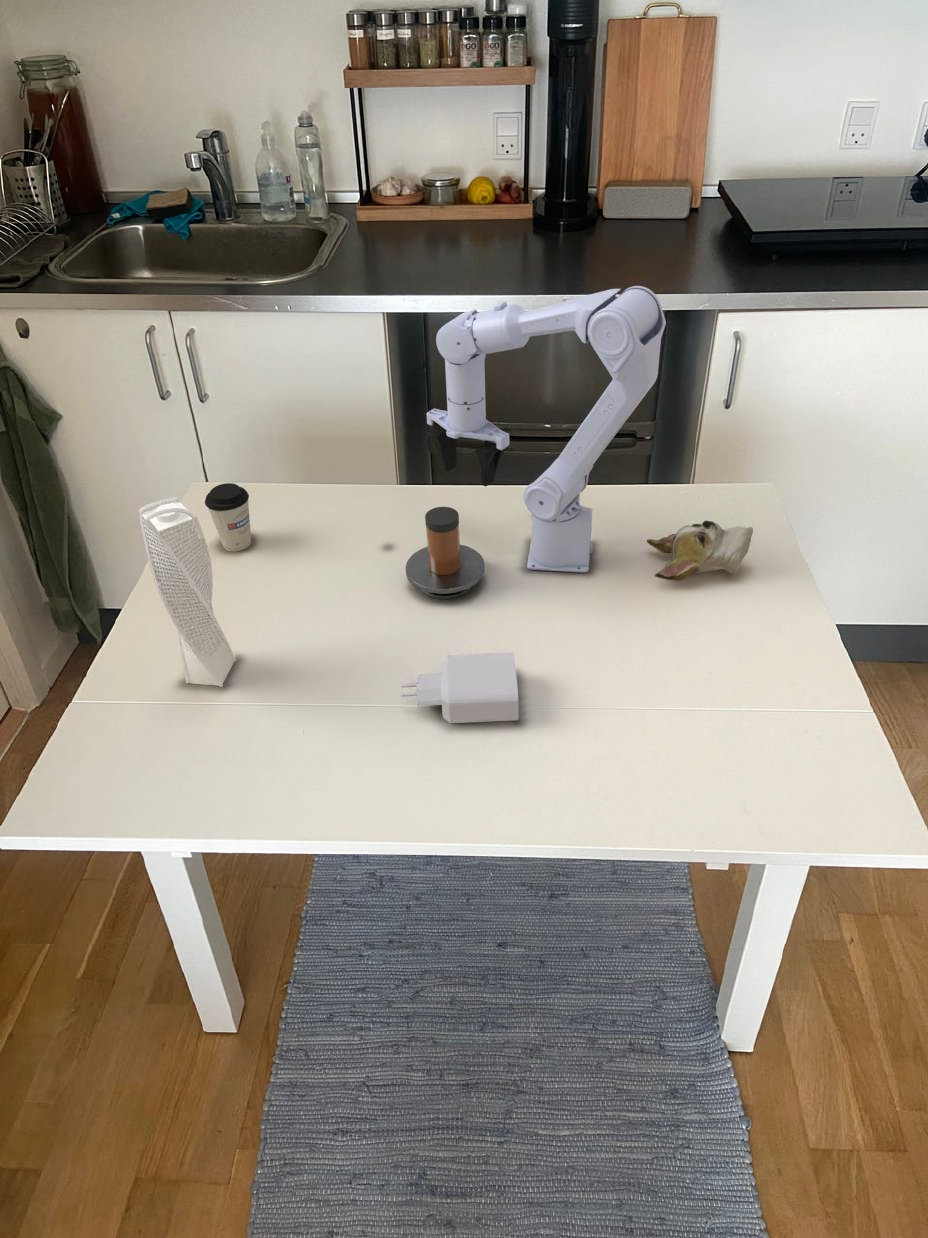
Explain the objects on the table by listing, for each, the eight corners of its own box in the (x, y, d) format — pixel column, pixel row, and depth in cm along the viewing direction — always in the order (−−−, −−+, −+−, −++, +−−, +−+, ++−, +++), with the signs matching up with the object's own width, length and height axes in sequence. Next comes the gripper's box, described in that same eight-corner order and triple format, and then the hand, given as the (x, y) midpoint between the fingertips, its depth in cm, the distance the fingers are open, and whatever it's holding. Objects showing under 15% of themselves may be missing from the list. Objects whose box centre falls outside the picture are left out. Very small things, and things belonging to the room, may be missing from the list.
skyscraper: (226, 695, 125) (178, 518, 108) (174, 690, 127) (118, 515, 109) (246, 656, 132) (203, 483, 114) (196, 652, 133) (146, 480, 115)
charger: (403, 680, 127) (514, 675, 126) (401, 729, 119) (519, 723, 119) (400, 653, 124) (514, 648, 123) (398, 702, 116) (519, 697, 116)
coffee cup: (207, 545, 154) (193, 493, 147) (240, 526, 158) (229, 475, 151) (233, 560, 150) (220, 507, 144) (267, 541, 154) (256, 488, 148)
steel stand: (489, 560, 147) (489, 545, 145) (479, 608, 138) (479, 591, 136) (415, 556, 149) (413, 541, 147) (400, 603, 140) (398, 587, 138)
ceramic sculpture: (762, 538, 133) (656, 545, 135) (756, 587, 139) (654, 593, 140) (746, 499, 142) (646, 506, 143) (741, 546, 147) (645, 553, 148)
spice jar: (463, 557, 143) (461, 507, 137) (458, 576, 139) (455, 525, 134) (431, 555, 144) (428, 505, 138) (426, 574, 140) (422, 523, 134)
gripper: (411, 393, 140) (417, 472, 149) (488, 419, 133) (490, 501, 141) (441, 376, 144) (445, 454, 153) (517, 400, 137) (517, 481, 146)
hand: (468, 476), depth 147 cm, fingers open, 7 cm apart
